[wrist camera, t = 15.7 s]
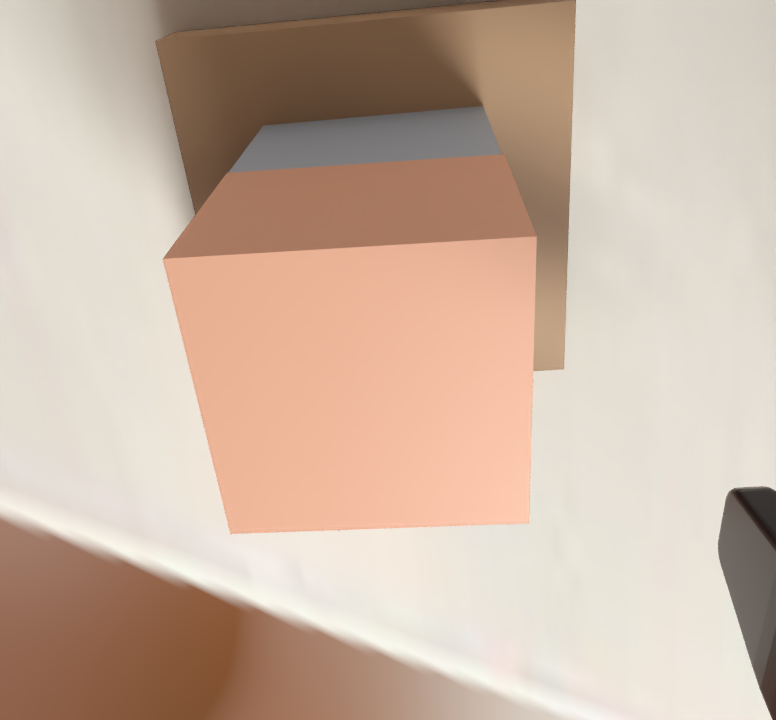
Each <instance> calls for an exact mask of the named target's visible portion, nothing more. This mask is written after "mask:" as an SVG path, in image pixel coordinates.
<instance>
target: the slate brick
mask: <svg viewBox="0 0 776 720" xmlns="http://www.w3.org/2000/svg"><path fill="white" fill-rule="evenodd" d="M498 154H501V152H500V149H499V146H498V144H497V141H496V138H495V136H494V133H493V130H492V128H491V125H490V122H489V120H488V117H487V114H486V112H485V109H484V107H483V106H477V107H466V108H455V109H444V110H433V111H421V112H410V113H399V114H388V115H377V116H365V117H354V118H343V119H332V120H320V121H309V122H298V123H287V124H276V125H264V126H263V127H262V128H261V129H260V131H259V132H258V133H257V135H256V136H255V137H254V139H253V140H252V142H251V143H250V144H249V146H248V147H247V148H246V150H245V151H244V152H243V154H242V155H241V156H240V158H239V159H238V160H237V162H236V163H235V164H234V166H233V167H232V169H231V170H230V171H229V173H231V172H246V171H261V170H276V169H291V168H305V167H320V166H335V165H350V164H365V163H380V162H394V161H409V160H424V159H439V158H454V157H469V156H484V155H498Z"/></svg>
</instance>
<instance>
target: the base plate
mask: <svg viewBox="0 0 776 720" xmlns="http://www.w3.org/2000/svg"><path fill="white" fill-rule="evenodd" d="M575 13H576V0H500V1H489V2H479V3H469V4H459V5H449V6H438V7H428V8H418V9H408V10H397V11H387V12H377V13H367V14H357V15H346V16H336V17H326V18H316V19H305V20H295V21H285V22H275V23H265V24H254V25H244V26H234V27H224V28H214V29H203V30H193V31H183V32H174V33H172V34H170V35H168V36H165V37H163V38H161V39H159V40H157V41H155V42H156V46H157V51H158V55H159V59H160V63H161V68H162V72H163V76H164V81H165V85H166V89H167V94H168V98H169V102H170V107H171V111H172V115H173V120H174V124H175V128H176V133H177V137H178V141H179V146H180V150H181V154H182V159H183V163H184V167H185V171H186V176H187V180H188V184H189V189H190V193H191V197H192V202H193V206H194V210H195V215H196V214H197V212H198V211H199V210H200V208H201V207H202V206H203V204H204V203H205V202H206V200H207V199H208V198H209V196H210V195H211V194H212V192H213V191H214V190H215V188H216V187H217V186H218V184H219V183H220V182H221V180H222V179H223V178H224V176H225V175H226V173H229V171H230V170H231V169H232V167H233V166H234V164H235V163H236V162H237V160H238V159H239V158H240V156H241V155H242V154H243V152H244V151H245V150H246V148H247V147H248V146H249V144H250V143H251V142H252V140H253V139H254V137H255V136H256V135H257V133H258V132H259V131H260V129H261V128H262V127H263V126H264V125H276V124H287V123H298V122H309V121H320V120H332V119H343V118H354V117H365V116H377V115H388V114H399V113H410V112H421V111H433V110H444V109H455V108H466V107H477V106H483V107H484V109H485V112H486V114H487V117H488V120H489V122H490V125H491V128H492V130H493V133H494V136H495V138H496V141H497V144H498V146H499V149H500V152H501V154H505V156H506V159H507V161H508V164H509V167H510V169H511V172H512V174H513V177H514V179H515V182H516V184H517V187H518V190H519V192H520V195H521V197H522V200H523V202H524V205H525V207H526V210H527V213H528V215H529V218H530V220H531V223H532V225H533V228H534V230H535V233H536V236H537V248H536V285H535V323H534V360H533V371H542V370H558V369H564V351H565V320H566V289H567V259H568V228H569V197H570V166H571V136H572V105H573V74H574V43H575Z"/></svg>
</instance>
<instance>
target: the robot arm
mask: <svg viewBox="0 0 776 720" xmlns="http://www.w3.org/2000/svg"><path fill="white" fill-rule="evenodd" d="M718 553H719V559H720V563H721V567H722V570H723V573H724V576H725V580H726V583H727V586H728V589H729V592H730V596H731V599H732V602H733V605H734V609H735V612H736V615H737V618H738V622H739V625H740V628H741V631H742V634H743V638H744V641H745V644H746V647H747V651H748V654H749V657H750V660H751V663H752V667H753V670H754V673H755V676H756V679H757V682H758V685H759V688H760V690H761V693H762V695H763V698H764V700H765V703H766V705H767V708H768V710H769V712H770V715H771V717H772V719H773V720H776V491H775V490H773V489H771V488H769V487H763V486H762V487H743V488H734V489H732V490H731V491H729V493H728V495H727V497H726V501H725V507H724V512H723V518H722V523H721V529H720V534H719V540H718Z"/></svg>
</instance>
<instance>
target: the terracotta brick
mask: <svg viewBox="0 0 776 720" xmlns="http://www.w3.org/2000/svg"><path fill="white" fill-rule="evenodd" d="M536 248H537V236H536V233H535V230H534V228H533V225H532V223H531V220H530V218H529V215H528V213H527V210H526V207H525V205H524V202H523V200H522V197H521V195H520V192H519V190H518V187H517V184H516V182H515V179H514V177H513V174H512V172H511V169H510V167H509V164H508V161H507V159H506V156H505V154H498V155H484V156H469V157H454V158H439V159H424V160H409V161H394V162H380V163H365V164H350V165H335V166H320V167H305V168H291V169H276V170H261V171H246V172H231V173H226V175H225V176H224V178H223V179H222V180H221V182H220V183H219V184H218V186H217V187H216V188H215V190H214V191H213V192H212V194H211V195H210V196H209V198H208V199H207V200H206V202H205V203H204V204H203V206H202V207H201V208H200V210H199V211H198V212H197V214H196V215H195V216H194V218H193V219H192V220H191V222H190V223H189V224H188V226H187V227H186V228H185V230H184V231H183V233H182V234H181V235H180V237H179V238H178V239H177V241H176V242H175V243H174V245H173V246H172V247H171V249H170V250H169V251H168V253H167V254H166V255H165V257H164V258H163V261H164V266H165V270H166V274H167V278H168V282H169V286H170V290H171V294H172V298H173V302H174V306H175V310H176V314H177V318H178V322H179V327H180V331H181V335H182V339H183V343H184V347H185V351H186V355H187V359H188V363H189V367H190V371H191V375H192V379H193V383H194V388H195V392H196V396H197V400H198V404H199V408H200V412H201V416H202V420H203V424H204V428H205V432H206V436H207V440H208V444H209V449H210V453H211V457H212V461H213V465H214V469H215V473H216V477H217V481H218V485H219V489H220V493H221V497H222V501H223V505H224V510H225V514H226V518H227V522H228V526H229V530H230V534H239V533H267V532H296V531H324V530H352V529H380V528H408V527H436V526H464V525H492V524H521V523H529V509H530V472H531V434H532V397H533V360H534V323H535V285H536Z"/></svg>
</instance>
